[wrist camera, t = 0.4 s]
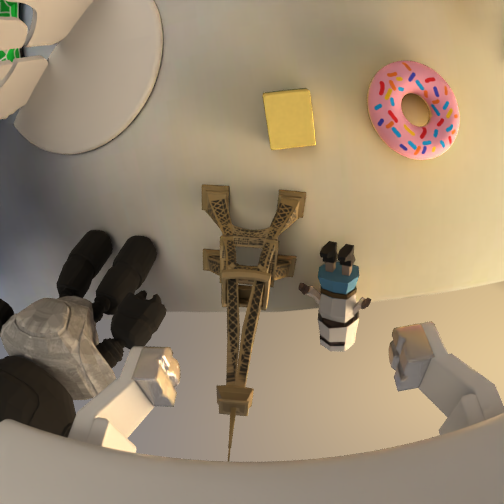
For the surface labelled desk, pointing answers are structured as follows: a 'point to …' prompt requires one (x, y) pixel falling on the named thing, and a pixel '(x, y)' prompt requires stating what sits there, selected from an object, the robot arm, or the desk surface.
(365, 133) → the desk surface
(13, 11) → the toy car
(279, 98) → the sponge
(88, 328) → the robot toy
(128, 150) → the desk surface
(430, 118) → the donut
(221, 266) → the eiffel tower
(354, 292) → the toy
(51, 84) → the ornament
